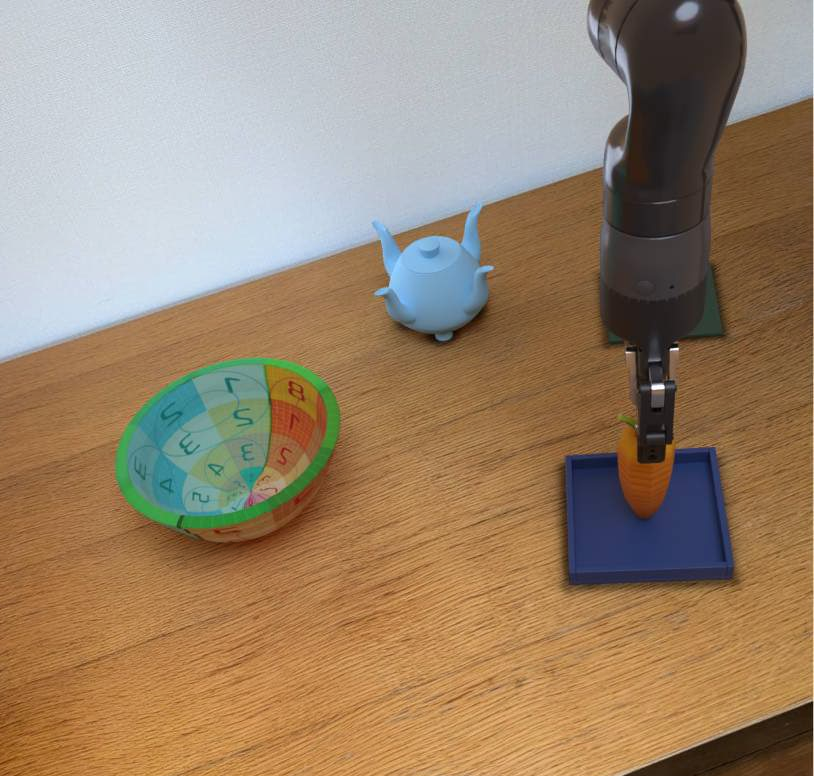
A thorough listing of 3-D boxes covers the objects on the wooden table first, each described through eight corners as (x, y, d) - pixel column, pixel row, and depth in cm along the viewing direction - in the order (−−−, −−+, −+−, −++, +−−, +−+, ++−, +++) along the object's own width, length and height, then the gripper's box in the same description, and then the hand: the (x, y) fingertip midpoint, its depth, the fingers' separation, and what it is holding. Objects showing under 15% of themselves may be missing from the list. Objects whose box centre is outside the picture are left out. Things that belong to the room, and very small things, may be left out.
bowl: (224, 406, 113) (195, 339, 105) (397, 449, 104) (379, 379, 96) (110, 555, 102) (68, 492, 94) (293, 617, 93) (263, 553, 85)
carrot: (651, 547, 91) (656, 433, 79) (606, 522, 93) (604, 409, 81) (682, 512, 92) (691, 396, 81) (637, 489, 95) (639, 374, 83)
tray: (713, 459, 96) (715, 446, 95) (732, 579, 88) (734, 566, 86) (565, 468, 99) (565, 455, 97) (569, 584, 90) (569, 572, 89)
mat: (710, 265, 114) (710, 262, 113) (722, 335, 106) (723, 332, 106) (603, 275, 116) (603, 272, 115) (608, 344, 108) (608, 341, 108)
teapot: (491, 273, 119) (483, 200, 112) (503, 345, 111) (494, 271, 103) (386, 290, 121) (370, 219, 113) (389, 363, 112) (373, 291, 105)
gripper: (720, 324, 65) (702, 484, 78) (697, 198, 74) (684, 361, 87) (604, 333, 67) (605, 489, 79) (595, 208, 75) (597, 367, 88)
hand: (646, 422), depth 83 cm, fingers open, 8 cm apart
